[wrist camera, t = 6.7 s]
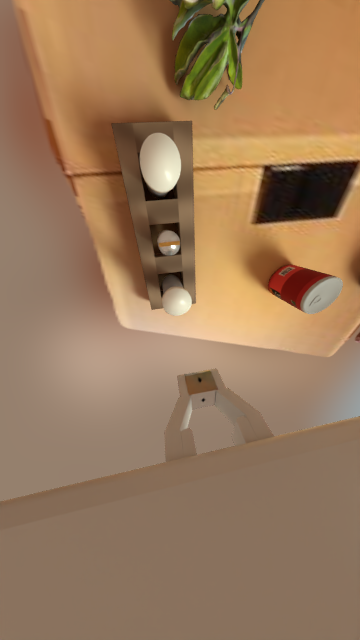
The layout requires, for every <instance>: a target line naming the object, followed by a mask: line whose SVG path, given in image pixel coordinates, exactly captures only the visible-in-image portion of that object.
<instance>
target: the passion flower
mask: <svg viewBox="0 0 360 640" xmlns="http://www.w3.org/2000/svg"><path fill="white" fill-rule="evenodd" d="M170 1H171V2H172V3H173V4H174V5H178V6H179V13H178V16H177V18H176V21H175V23H174V26H173V32H172V40H174V38H175V36H176V35H177V33H178V31H179V30H180V29H181V28H183V27H184V26H185V24H186V22H187V21H188V20H189V19H191V18H192V17H193V15H194V14H195V13H196V12H197V11H199V10H200V9H202V8H203V7H205V6H206V5H208V4H210V3H213V4H212V6H213V8H214V9H216V10H218V9H219V8H220V7H221V6H222V5H224V6H225V7H226V8H227V12H226V14H225V15H223V14H220V15H219V16H217V17H213V15H211V14H209V15H208V14H201V15H200V14H198V16H197V17H195V18H194V19H193V20H191V21H190V23H189V26H188V29H187V31H186V32H185V34H184V36H183V37H182V39H181V41H180V45H179V48H178V52H177V54H176V60H175V73H176V74H175V76H174V77H175V83H176V85H177V84H178V81H179V78H181V77H182V76H183V75H184V74H185V73H186V72H187V70H188V67H189V65H190V63H191V62H192V61H193V59H194V57H195V56H196V54H197V52H198V50H199V49H200V48H201V47H202V46H203V45H205V44H206V43H207V44H206V46H205V48H204V49H203V50H202V51H201V53H200V54H199V56H198V57H197V60H196V61H195V63H194V66H193V67H192V70H191V72H190V74H188V75H187V76H186V78H185V81H184V84H183V86H182V89H181V92H180V97H182V98H185V99H187V100H190V99H191V100H203V99H206V98H207V97H208V96H209V95H211V93H212V92H213V91H214V90H215V89H216V87H217V86H218V84H219V82H220V80H221V77H222V75H223V73H224V71H225V69H226V66H227V64H229V66H228V74H229V76H230V77H229V80H230V81H231V83H232V84H233V90H232V92H230V89H229V86H228V85H227V87H226V89H225V91H224V92H223V94H222V96H221V97H220V98H219V99H218V101H217V103H216V104H215V106H214V109H215V110H216V109H217V108H218V107H219V106H220V104H221V103H222V102H223V101H224V99H225V98H226V97H227V96H228V95H230V94H232V93H233V91H234V88H237V89H241V87H242V65H241V53H242V50H243V47H244V44H245V42H246V39H247V37H248V34H249V32H250V29H251V27H252V24H253V21H254V19H255V17H256V15H257V13H258V11H259V9H260V7H261V5H262V3H263V2H264V0H259V2H258V4H257V6H256V8H255V9H254V11H253V12H252V13H251V14H250V15H249V16H248V17H247V18H246V19H245V20H244V21H242V22H241V21H240V19H239V14H240V12H241V10H242V9H243V8H244V7H245V6H246V4H247V3H248V1H249V0H170ZM236 31H237V32H236ZM235 32H236V36H237V37H238V40H239V41H238V43H236V39H235Z"/></svg>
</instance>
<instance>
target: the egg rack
mask: <svg viewBox="0 0 360 640" xmlns="http://www.w3.org/2000/svg"><path fill="white" fill-rule="evenodd" d="M111 124H112V128H113V133H114V138H115V142H116V147H117V152H118V156H119V161H120V165H121V170H122V175H123V179H124V184H125V189H126V193H127V198H128V202H129V207H130V212H131V216H132V221H133V226H134V230H135V235H136V239H137V244H138V249H139V253H140V258H141V262H142V267H143V272H144V276H145V281H146V286H147V290H148V295H149V299H150V304H151V309H152V310H153V309H160V308H163V303H162V297H163V294H164V293H163V291H160V285H159V279H158V274H163V273H171V272H179V271H180V278H181V284H182V286H183V288H185V289H186V290H187V291H188V293H189V294H190V296H191V299H192V304H194V303H196V288H195V239H194V190H193V141H192V121H172V122H141V123H111ZM153 133H163V134H165V135H167V136H168V137H170V138H171V139H172V140H173V142H174V143H175V145H176V146H177V148H178V151H179V154H180V159H181V172H180V176H179V179H178V181H177V183H176V185H175V186H174V199H168V200H156V201H146V200H145V194H144V188H143V181H142V175H141V169H140V151H141V147H142V145H143V143H144V141H145V139H146V138H147V137H148V136H149V135H151V134H153ZM167 223H176V227H177V235H178V237H179V239H180V248H179V250H178V252H177V253H176V254H174V255H172V256H167V255H165V254H163V253H161V254H154V249H153V242H152V236H151V230H150V225H156V224H167Z"/></svg>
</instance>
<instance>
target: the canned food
mask: <svg viewBox="0 0 360 640" xmlns="http://www.w3.org/2000/svg"><path fill="white" fill-rule="evenodd" d="M342 287H343V283H342V280H341V279H340V278H337V277H335V276H332V275H329V274H325V273H321V272H317V271H314V270H310V269H306V268H303V267H299V266H295V265H286V266H283V267H281V268H279V269H278V270H277V271H276V272H275V273H274V274H273V275H272V277H271V278H270V281H269V284H268V288H269V290H270V292H271V293H272V294H273V295H275V296H277V297H278V298H280V299H282V300H283V301H285V302H287V303H289V304H290V305H292V306H294V307H296V308H297V309H299V310H301V311H303V312H305V313H308V314H314V313H318V312H320V311H322V310H324V309H325V308H327V307H328V306H329V305H331V304H332V303H333V302H334V301H335V299H336V298H337V297H338V296H339V294H340V292H341V290H342Z"/></svg>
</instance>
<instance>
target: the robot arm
mask: <svg viewBox="0 0 360 640" xmlns="http://www.w3.org/2000/svg"><path fill="white" fill-rule="evenodd" d="M177 378H178V386H179V393H180V397H179V398H178V400H177V403H176V405H175V408H174V410H173V413H172V415H171V417H170V420H169V423H168V425H167V427H166V430H165V432H164V437H165V457H166V462H165V463H160V464H156V465H152V466H148V467H143V468H139V469H135V470H131V471H127V472H122V473H118V474H114V475H110V476H105V477H101V478H97V479H93V480H88V481H84V482H80V483H76V484H72V485H68V486H63V487H59V488H55V489H51V490H46V491H42V492H38V493H34V494H30V495H26V496H21V497H17V498H13V499H9V500H4V501H0V640H360V416H359V417H355V418H350V419H346V420H342V421H337V422H333V423H330V424H325V425H321V426H316V427H312V428H308V429H304V430H299V431H296V432H291V433H287V434H283V435H278V436H274V435H273V434H272V432H271V430H270V429H269V427H268V425H267V424H266V422H265V420H264V419H263V417H262V415H261V413H260V412H259V411H258V410H256V409H255V408H253V407H252V406H251V405H250V404H248V403H247V402H246V401H244V400H243V399H242V398H241V397H239V396H238V395H237V394H235V393H234V392H233V391H231V390H230V389H229V388H226V387H225V385H224V383H223V381H222V379H221V376H220V374H219V372H218V370H217V369H211V370H205V371H200V372H196V373H190V374H184V375H178V376H177ZM213 405H215V406H216V407H217V408H218V410H219V411H220V412H221V413H222V414H223V415H224V416H225V417H226V418H227V419H228V420H229V421H230V422H231V423H232V424H233V425H234V426H235V427H234V430H233V433H232V440H233V442H234V445H235V446H232V447H228V448H223V449H220V450H215V451H211V452H207V453H202V454H198V455H197V453H196V448H195V443H194V438H193V433H192V430H191V429H190V428H187V427H188V423H189V419H190V416H191V412H192V410H193V409H197V408H202V407H206V406H213Z"/></svg>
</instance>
